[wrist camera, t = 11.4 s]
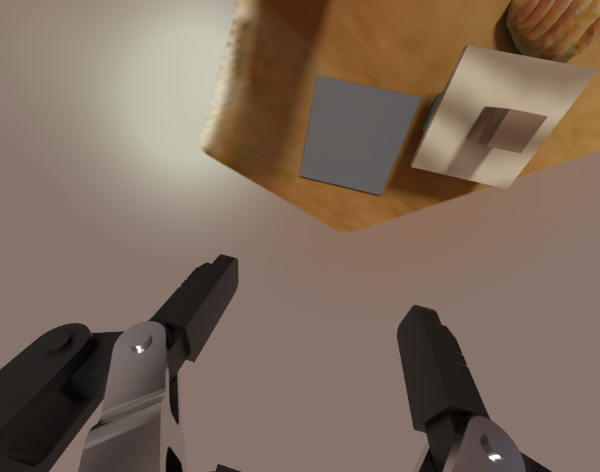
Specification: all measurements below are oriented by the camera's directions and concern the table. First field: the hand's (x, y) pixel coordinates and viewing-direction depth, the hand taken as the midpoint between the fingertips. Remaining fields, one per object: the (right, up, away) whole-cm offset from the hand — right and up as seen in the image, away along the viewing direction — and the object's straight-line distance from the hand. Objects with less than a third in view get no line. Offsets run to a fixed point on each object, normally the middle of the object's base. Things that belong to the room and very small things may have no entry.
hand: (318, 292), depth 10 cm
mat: (+8, +18, +26) cm, 32 cm away
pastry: (+28, +27, +15) cm, 42 cm away
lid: (+22, +16, +17) cm, 32 cm away
